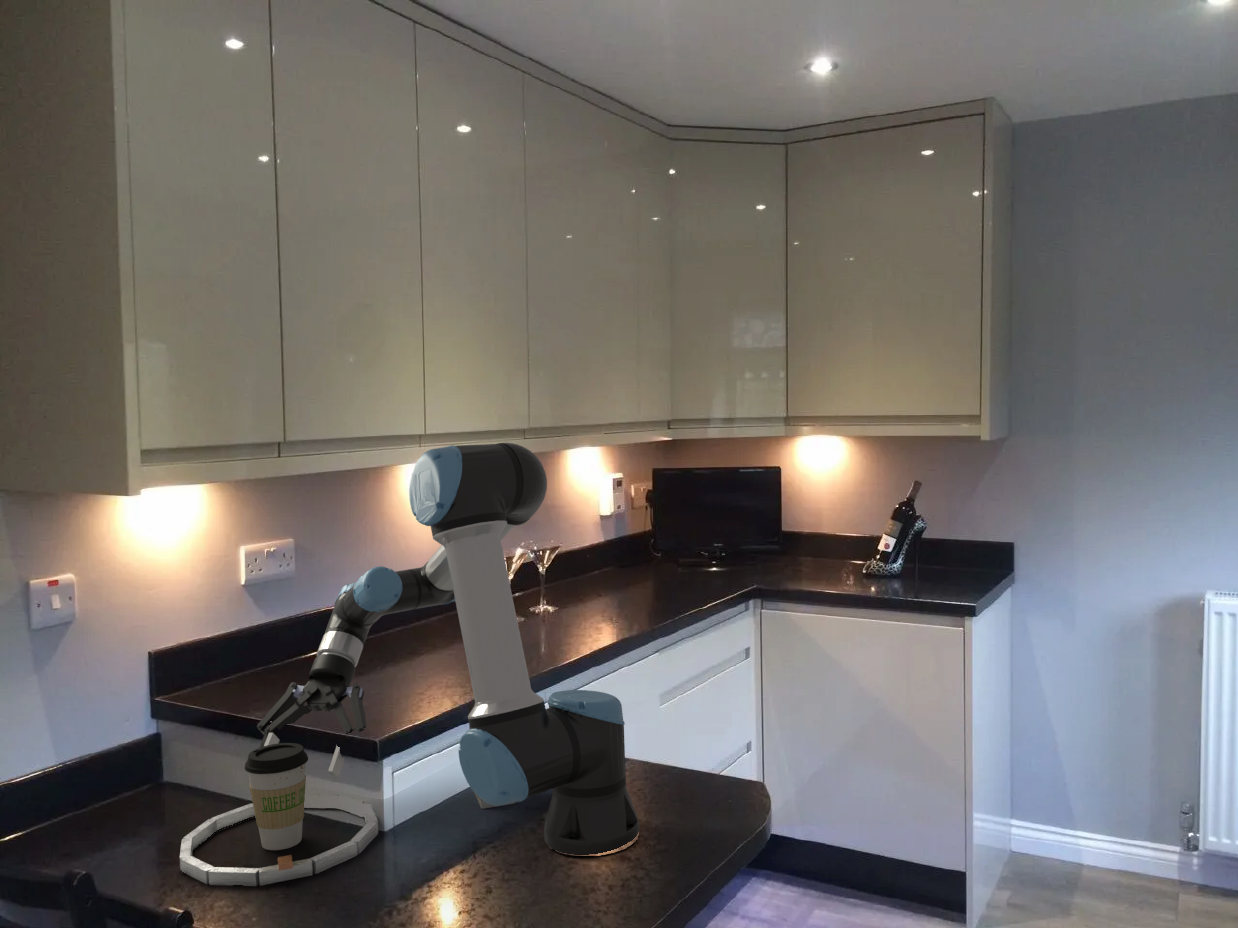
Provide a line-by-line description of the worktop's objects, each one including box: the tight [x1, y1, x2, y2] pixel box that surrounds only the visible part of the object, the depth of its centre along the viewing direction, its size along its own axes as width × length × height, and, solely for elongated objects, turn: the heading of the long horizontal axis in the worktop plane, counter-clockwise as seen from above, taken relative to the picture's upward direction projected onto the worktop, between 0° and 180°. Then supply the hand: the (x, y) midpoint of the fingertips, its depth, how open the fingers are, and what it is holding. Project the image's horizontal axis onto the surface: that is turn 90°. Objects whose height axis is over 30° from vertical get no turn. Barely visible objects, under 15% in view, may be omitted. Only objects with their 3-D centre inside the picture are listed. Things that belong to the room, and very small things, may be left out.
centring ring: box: [179, 802, 379, 887], centre depth 163 cm, size 31×30×3 cm
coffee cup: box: [244, 742, 309, 851], centre depth 163 cm, size 10×10×15 cm
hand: (296, 773), depth 168 cm, fingers open, 13 cm apart
